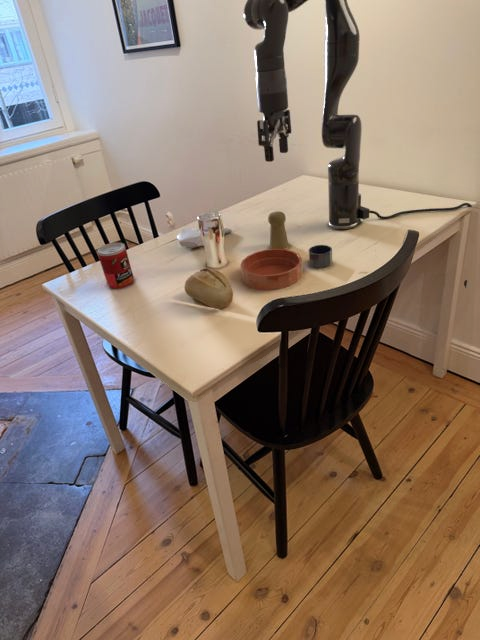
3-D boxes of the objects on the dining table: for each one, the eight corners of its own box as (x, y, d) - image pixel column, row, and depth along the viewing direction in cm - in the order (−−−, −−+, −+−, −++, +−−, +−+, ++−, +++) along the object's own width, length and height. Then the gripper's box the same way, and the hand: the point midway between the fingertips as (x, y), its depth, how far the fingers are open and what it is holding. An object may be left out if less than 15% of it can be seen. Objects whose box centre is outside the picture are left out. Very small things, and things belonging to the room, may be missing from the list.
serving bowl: (280, 258, 136) (279, 243, 134) (314, 277, 123) (314, 262, 121) (232, 275, 130) (230, 261, 128) (263, 298, 118) (261, 282, 115)
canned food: (121, 291, 131) (111, 255, 125) (102, 286, 135) (90, 251, 129) (140, 278, 136) (130, 244, 130) (120, 274, 140) (110, 240, 134)
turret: (236, 239, 158) (235, 225, 155) (191, 252, 145) (190, 237, 143) (215, 233, 164) (215, 220, 162) (170, 246, 151) (169, 232, 149)
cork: (287, 251, 140) (285, 216, 134) (268, 251, 141) (264, 217, 135) (290, 242, 144) (287, 208, 139) (270, 243, 146) (267, 209, 140)
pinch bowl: (314, 258, 133) (314, 243, 131) (335, 261, 130) (335, 246, 128) (305, 268, 129) (305, 253, 126) (326, 271, 126) (326, 255, 123)
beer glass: (232, 259, 139) (225, 211, 131) (223, 270, 134) (216, 220, 126) (210, 258, 142) (202, 211, 134) (201, 269, 136) (193, 220, 128)
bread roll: (204, 285, 128) (199, 258, 123) (244, 299, 118) (240, 271, 114) (178, 300, 122) (171, 273, 118) (217, 317, 113) (212, 288, 108)
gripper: (272, 94, 109) (277, 164, 117) (297, 84, 119) (301, 149, 127) (244, 95, 112) (251, 164, 121) (271, 85, 122) (276, 149, 131)
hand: (277, 156), depth 124 cm, fingers open, 8 cm apart
